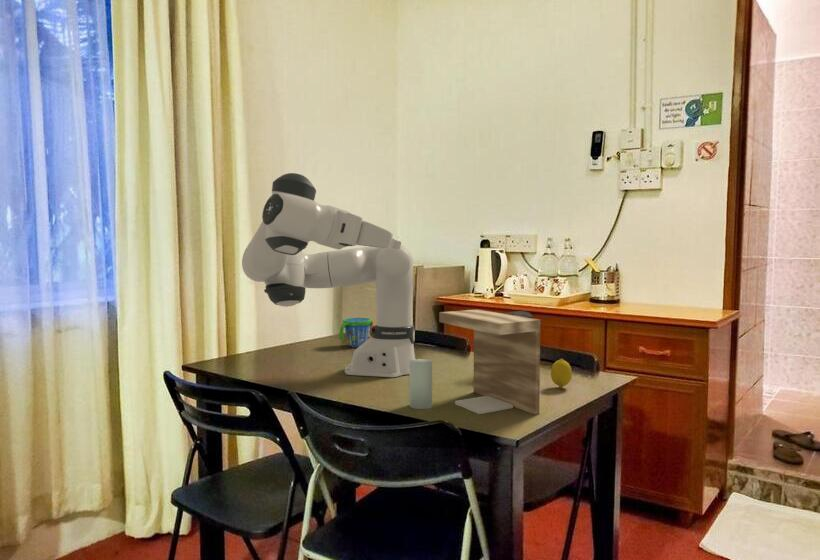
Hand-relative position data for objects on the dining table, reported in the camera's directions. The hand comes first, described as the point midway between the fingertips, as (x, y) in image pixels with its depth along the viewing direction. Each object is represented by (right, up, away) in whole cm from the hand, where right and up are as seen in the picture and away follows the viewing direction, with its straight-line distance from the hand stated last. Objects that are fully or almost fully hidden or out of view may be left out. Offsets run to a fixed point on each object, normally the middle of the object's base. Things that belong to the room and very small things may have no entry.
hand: (389, 244), depth 143 cm
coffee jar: (+37, -36, +42) cm, 67 cm away
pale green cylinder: (+7, -39, +5) cm, 40 cm away
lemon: (+46, -38, +23) cm, 64 cm away
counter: (+24, -39, +6) cm, 46 cm away
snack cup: (-15, -33, +87) cm, 95 cm away
